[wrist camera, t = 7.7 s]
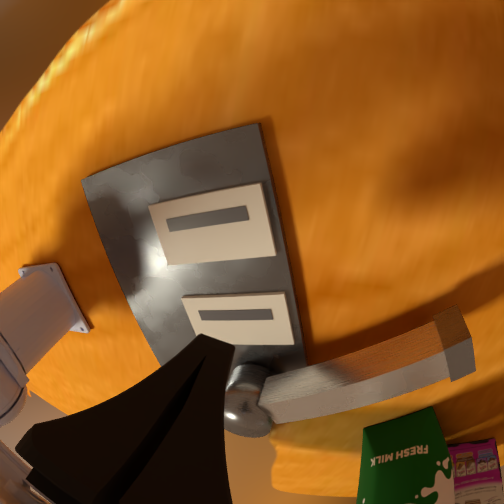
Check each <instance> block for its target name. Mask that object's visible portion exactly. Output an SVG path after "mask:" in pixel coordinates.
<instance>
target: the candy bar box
mask: <svg viewBox="0 0 504 504" xmlns="http://www.w3.org/2000/svg"><path fill="white" fill-rule="evenodd" d="M447 447H448V450H449V453H450V457H451V461H452V466H453V474H454V491H455V504H504V495H503V485H502V477H501V469H500V462H499V456H498V451H497V445H496V440H495V439H494V438H493V439H487V440H481V441H475V442H469V443H462V444H454V445H447Z"/></svg>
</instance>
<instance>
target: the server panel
mask: <svg viewBox="0 0 504 504" xmlns="http://www.w3.org/2000/svg"><path fill="white" fill-rule="evenodd" d="M81 182H82V186H83V189H84V192H85V195H86V198H87V201H88V204H89V207H90V210H91V213H92V216H93V219H94V222H95V224H96V227H97V230H98V233H99V235H100V238H101V241H102V243H103V246H104V248H105V251H106V253H107V256H108V258H109V261H110V263H111V265H112V268H113V270H114V273H115V275H116V277H117V279H118V282H119V284H120V286H121V288H122V291H123V293H124V295H125V297H126V299H127V302H128V304H129V306H130V308H131V310H132V312H133V314H134V316H135V318H136V320H137V322H138V324H139V326H140V328H141V330H142V332H143V334H144V336H145V338H146V340H147V341H148V343H149V345H150V347H151V349H152V351H153V353H154V354H155V356H156V358H157V360H158V362H159V363H160V365H161V367H162V366H163V365H164V364H166V363H167V362H168V361H169V360H171V359H172V358H173V357H174V356H176V355H177V354H178V353H179V352H180V351H181V350H182V349H184V348H185V347H186V346H187V345H188V344H189V343H190V342H191V341H192V340H193V339H194V338H195V337H196V334H195V331H194V329H193V327H192V324H191V322H190V319H189V317H188V315H187V312H186V310H185V307H184V305H183V302H182V300H181V298H182V296H199V295H226V294H248V293H267V292H284V291H285V294H286V299H287V304H288V309H289V314H290V319H291V324H292V329H293V335H294V340H295V343H294V345H237V344H233V345H234V346H235V353H234V357H233V361H232V365H231V369H230V374H229V377H228V380H227V383H228V381H229V379H230V376H231V374H232V372H233V370H234V369H235V368H236V367H238V366H240V365H245V364H254V365H259V366H263V367H265V368H268V369H270V370H271V371H273V372H274V373H276V374H277V375H278V374H282V373H286V372H290V371H294V370H297V369H301V368H305V367H308V360H307V354H306V348H305V342H304V336H303V330H302V324H301V318H300V313H299V307H298V301H297V296H296V290H295V285H294V279H293V274H292V269H291V263H290V258H289V253H288V248H287V243H286V238H285V233H284V228H283V223H282V218H281V213H280V208H279V204H278V199H277V194H276V190H275V185H274V180H273V176H272V171H271V167H270V162H269V158H268V153H267V149H266V145H265V140H264V136H263V132H262V128H261V123H256V124H251V125H247V126H243V127H238V128H234V129H230V130H226V131H222V132H219V133H215V134H211V135H207V136H204V137H200V138H197V139H193V140H190V141H187V142H183V143H180V144H177V145H174V146H170V147H167V148H164V149H161V150H158V151H155V152H152V153H149V154H146V155H144V156H141V157H138V158H135V159H132V160H130V161H127V162H124V163H122V164H119V165H116V166H114V167H111V168H109V169H106V170H104V171H101V172H99V173H96V174H94V175H92V176H89V177H87V178H85V179H82V180H81ZM255 183H262V188H263V192H264V197H265V201H266V205H267V210H268V214H269V219H270V224H271V228H272V233H273V237H274V242H275V247H276V251H277V254H276V256H268V257H257V258H246V259H235V260H224V261H214V262H203V263H191V264H180V265H169V266H168V263H167V260H166V258H165V255H164V252H163V249H162V246H161V244H160V241H159V238H158V235H157V232H156V229H155V226H154V223H153V220H152V217H151V214H150V211H149V208H148V206H149V205H152V204H156V203H160V202H165V201H169V200H174V199H178V198H183V197H187V196H192V195H197V194H202V193H207V192H212V191H217V190H222V189H227V188H233V187H238V186H244V185H249V184H255ZM227 383H226V386H227Z"/></svg>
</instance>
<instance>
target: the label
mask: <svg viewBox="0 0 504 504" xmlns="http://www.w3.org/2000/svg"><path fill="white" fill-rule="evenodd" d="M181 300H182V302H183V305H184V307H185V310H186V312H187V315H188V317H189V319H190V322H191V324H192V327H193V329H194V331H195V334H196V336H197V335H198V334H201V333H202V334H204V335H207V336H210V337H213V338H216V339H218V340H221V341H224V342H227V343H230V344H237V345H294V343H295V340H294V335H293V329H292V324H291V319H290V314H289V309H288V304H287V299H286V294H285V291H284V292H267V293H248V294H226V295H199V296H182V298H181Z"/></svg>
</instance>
